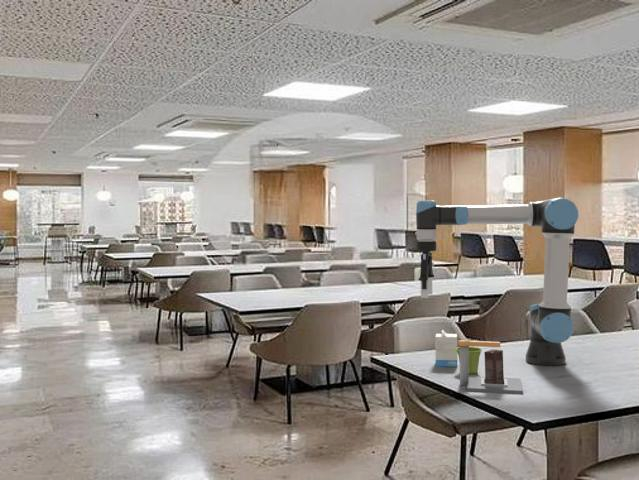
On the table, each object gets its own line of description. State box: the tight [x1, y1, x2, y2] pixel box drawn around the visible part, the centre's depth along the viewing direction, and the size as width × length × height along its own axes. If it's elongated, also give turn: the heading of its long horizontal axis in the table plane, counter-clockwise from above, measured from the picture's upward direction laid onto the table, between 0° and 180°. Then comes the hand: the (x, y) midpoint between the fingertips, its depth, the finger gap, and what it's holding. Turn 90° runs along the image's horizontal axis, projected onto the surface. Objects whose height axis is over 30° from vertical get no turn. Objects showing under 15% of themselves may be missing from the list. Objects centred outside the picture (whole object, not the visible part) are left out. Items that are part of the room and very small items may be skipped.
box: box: [483, 349, 505, 384], centre depth 233 cm, size 6×4×12 cm
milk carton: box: [434, 329, 458, 368], centre depth 268 cm, size 9×8×13 cm
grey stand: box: [459, 346, 524, 395], centre depth 233 cm, size 20×18×13 cm
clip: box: [457, 339, 501, 348], centre depth 234 cm, size 14×4×2 cm, turn 76°
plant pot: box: [456, 346, 483, 375], centre depth 255 cm, size 9×9×9 cm
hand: (426, 296), depth 263 cm, fingers open, 13 cm apart
